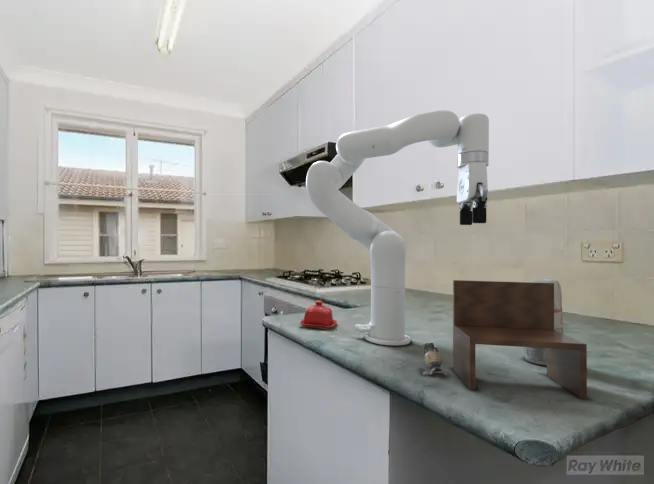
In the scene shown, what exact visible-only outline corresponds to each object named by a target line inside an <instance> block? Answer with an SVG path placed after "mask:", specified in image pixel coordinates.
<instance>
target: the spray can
mask: <svg viewBox="0 0 654 484" xmlns="http://www.w3.org/2000/svg"><path fill="white" fill-rule="evenodd" d="M527 282H539V283H554V330H555V331H557V332H559V333H562V334H564V325H563V324H564V320H563V304H562V303H563V302H562V301H563V295H562V287H561V283H560V281H559V280H557V279H554V278H553V279H552V278H544V279H539V280H538V279H537V280H530V281H529V280H528V281H527ZM523 352H524V353H523V354H524V360H526V361H527V362H529V363H532V364H535V365H541V366H547V348H534V347H523Z"/></svg>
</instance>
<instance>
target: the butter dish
mask: <svg viewBox="0 0 654 484" xmlns="http://www.w3.org/2000/svg"><path fill="white" fill-rule="evenodd" d="M323 303H324V302H323V301H322V300H320V299H317V300H315V304H313V305H309V306H308V307H306V309H305V311H304V315H303V319H302V320H300V321H299V323H298V324H299V325H301V326H305V327H306V328H315V329H325V330H327V329H329V328H333V327H334V326H335V325H336V324H337V323H338V320H336V319H334V317H333V310H332V308H330V307H329V306H326V305H323Z"/></svg>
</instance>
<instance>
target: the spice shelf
mask: <svg viewBox="0 0 654 484" xmlns="http://www.w3.org/2000/svg"><path fill="white" fill-rule="evenodd" d="M452 294H453V295H452V370H454V372H455V373H456V375H457V376H458V377H459V378H460V379H461V381H463V383H464V384H465V385H466V387H468V389H469V390H475V391H476V345H485V346H500V347H501V346H503V347H518V348H519V347H520V348H524V347H534V348H547V365H546V376H547V377H548V378H550V379H551V380H553V381H554V382H556V383H557V384H559V385H560V386H562V387H564V388H565V389H566V390H568V391H570V393H572V394H574V395H575V396H577V397H578V398H581V399H588V355H587V354H588V351H587V349H588V346H587V343H585V342H582V341H581V340H578V339H576V338H574V337H571V336H568V335H566V334H564V333H563V334H562V333H559V332H557V331H555V330H554V283H539V282H528V281H502V280H501V281H499V280H498V281H497V280H471V279H470V280H468V279H467V280H466V279H465V280H464V279H453V280H452Z"/></svg>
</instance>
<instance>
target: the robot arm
mask: <svg viewBox="0 0 654 484" xmlns="http://www.w3.org/2000/svg"><path fill="white" fill-rule="evenodd" d="M489 129H490V119H489V117H488V115H487V114H485V113H478V112H477V113H470V114H465V115H463V116H462V117H460V118H459V116H458V115H457V114H456V113H454V112H453V111H451V110H434V111H428V112H423V113H418V114H414V115H412V116H408V117H405V118H403V119H401V120H398V121H395V122H393V123H390V124H387V125H381V126H375V127H370V128H365V129H360V130H353V131H349V132H345V133H343V134H341V135H340V136H339V137H337V140H336V143H335V150H336V153H337V154H336V155H335V156H334V158H333V159H332V160H331V161H330V162H329V161H327V160H318V161H316V162H313V163H312V164H311V165H310V167H309V168H308V169H307V173H306V178H305V187H306V192H307V195H308V197H309V199H310V201H311V202H312V204H313V205H314V206H315V208H316V209H318V211H320V212H321V213H322V214H323V215H324V216H325V217H327V218H328V219H329V220H330V221H331V222H332V223H333V224H335V226H337V227H338V228H340V230H342V231H343V232H344V233H345V234H346V235H347V236H348V237H349V238H350V239H352V240H356V241H357V242H359V243H360V244H361V245H362V246H364V247H365V248H366V249H368V251H369V256H370V258H369V259H370V321H369V322H368V323H365V324H359V323H358V324H356V323H355V324H354V331H355V332H359V333H365V334H364V338H365V340H366V341H367V342H369V343H373V344H376V345H381V346H382V345H383V346H393V347H395V346H396V347H397V346H406V345H409V344H410V343H411V341H412V340H411V337H410V336H409V335H407V334H406V253H407V252H406V250H407V245H406V241H405V239H404V238H403V237H402V235H400V234H399V233H398V232H396V231H395V230H394V229H392V228H391V227H390V226H388V225H387V224H386V223H384V221H382V220H381V219H379V218H378V217H377V216H375V214H373V213H371V212H370V211H368V210H366V209H364V208H362V207H361V206H359V205H358V204H357V203H355V202H354V201H353V200H351V199H350V198H349V197H348V196H347V195H345V194H344V193H343V192H341V191H340V189H341V188H342V187H343V186H344V185H345V184H346V182H347V181H348V180H349V179H350V178H351V177H352V175H354V174H355V173H356V171H357V170H358V169H359V168H360V167H361V165H362V164H363V162H364V161H365V159H371V158H377V157H384V156H391V155H393V154H396V153H398V152H399V151H401V150H402V149H404V148H405V147H408V146H411V145H413V144H417V143H422V142H427V141H428V142H429V144H431V145H432V146H433V147H436V148H447V147H451V146H457V167H456V168H457V169H458V173H457V174H458V176H457V186H456V203H457V204H458V205H459V225H460V226H472V225H473V224H486V223H487V207H488V203H487V201H488V194H489V193H488V192H489V188H488V185H489V184H488V169H487V167H488V166H490V165H489V163H490V161H489V156H490V155H489V154H490V153H489V151H490V149H489V148H490V147H489V146H490V139H489V138H490V130H489Z"/></svg>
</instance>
